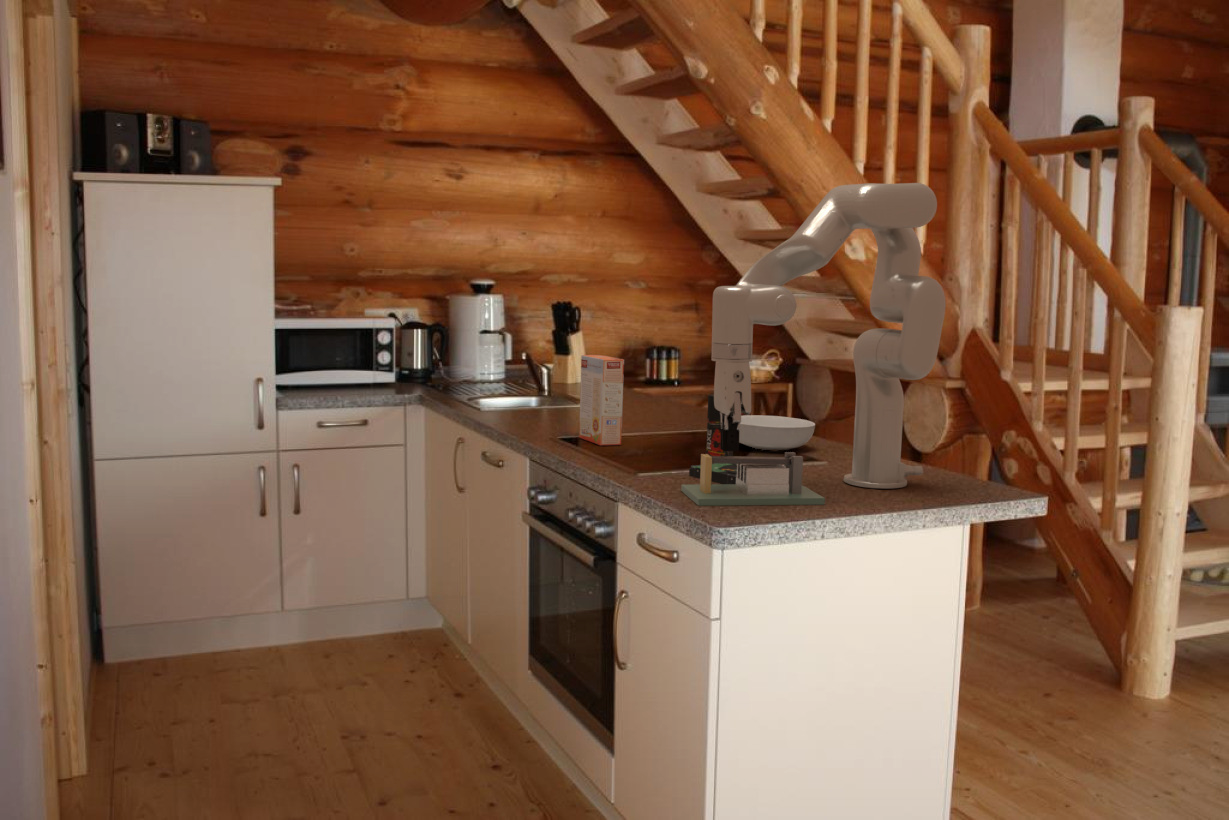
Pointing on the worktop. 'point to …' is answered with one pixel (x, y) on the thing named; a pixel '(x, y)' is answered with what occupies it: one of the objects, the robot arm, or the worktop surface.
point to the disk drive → (718, 473)
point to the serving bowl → (774, 432)
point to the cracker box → (601, 399)
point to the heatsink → (762, 479)
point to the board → (732, 496)
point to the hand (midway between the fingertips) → (729, 450)
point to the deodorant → (714, 431)
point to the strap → (751, 460)
